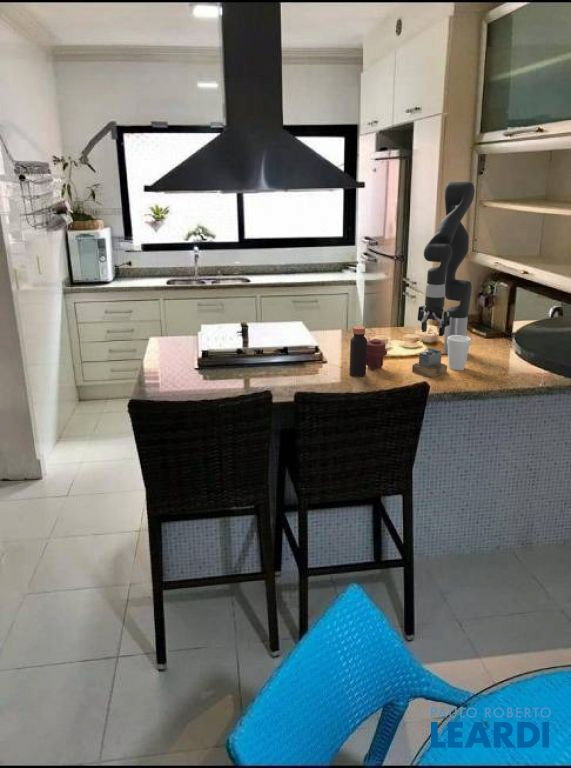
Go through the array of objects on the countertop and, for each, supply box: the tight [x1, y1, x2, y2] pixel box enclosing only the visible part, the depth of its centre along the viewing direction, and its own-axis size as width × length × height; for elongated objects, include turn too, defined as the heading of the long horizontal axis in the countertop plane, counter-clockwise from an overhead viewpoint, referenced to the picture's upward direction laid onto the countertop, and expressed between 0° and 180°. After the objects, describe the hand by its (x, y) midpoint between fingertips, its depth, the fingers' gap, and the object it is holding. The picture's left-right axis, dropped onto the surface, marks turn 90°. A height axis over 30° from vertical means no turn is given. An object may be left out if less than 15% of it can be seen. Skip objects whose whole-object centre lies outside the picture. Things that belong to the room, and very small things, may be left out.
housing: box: [418, 347, 443, 368], centre depth 248 cm, size 8×5×6 cm, turn 128°
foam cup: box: [447, 335, 472, 371], centre depth 252 cm, size 10×9×13 cm
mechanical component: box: [366, 338, 388, 372], centre depth 253 cm, size 12×10×10 cm
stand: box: [412, 361, 448, 378], centre depth 249 cm, size 10×10×4 cm
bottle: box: [349, 325, 368, 378], centre depth 244 cm, size 7×7×20 cm
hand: (432, 333), depth 244 cm, fingers open, 8 cm apart
